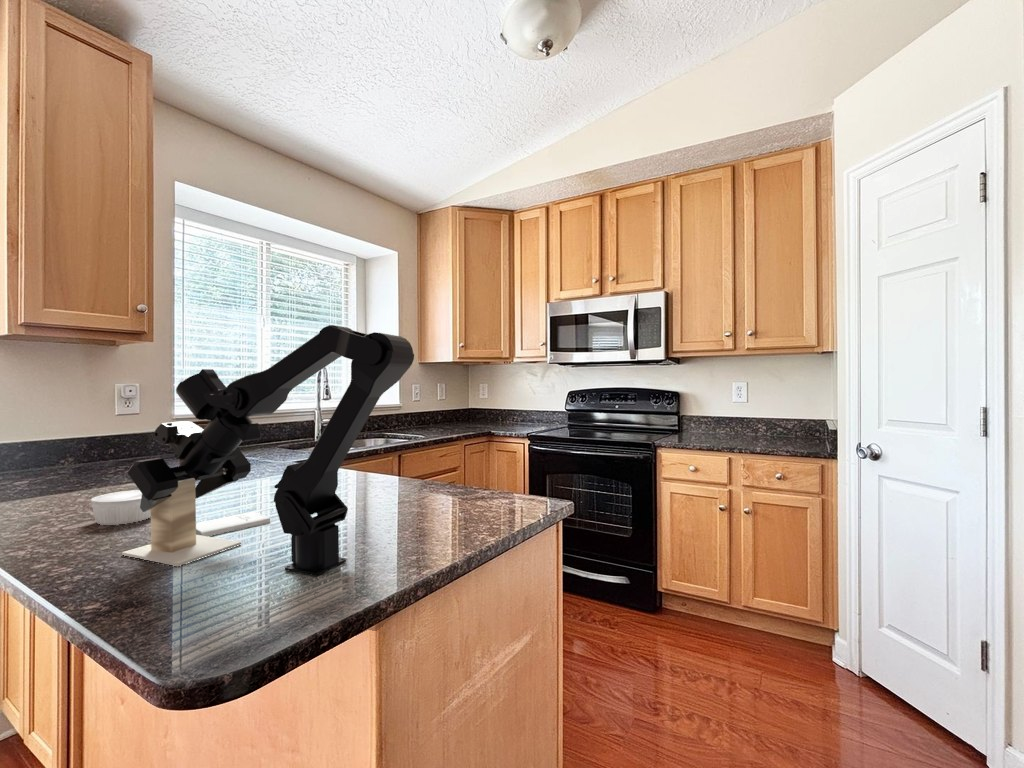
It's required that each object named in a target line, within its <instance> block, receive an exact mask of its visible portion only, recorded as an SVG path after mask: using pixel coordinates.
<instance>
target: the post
mask: <svg viewBox="0 0 1024 768" xmlns="http://www.w3.org/2000/svg"><path fill="white" fill-rule="evenodd" d="M195 488H196V480H195V479H190V480H186V481H181V482H178V488H177V489H176V490H175V492H173V493H171V495H172V496H171V497H170V498H168V499H166V500H165V501H163V502H161V503H160V504H158V505H156V506H155V507H153V508H152V509H151V517H150V544H151V550H154V551H162V552H171V553H172V552H175V551H178V550H180V549H183V548H186V547H189V546H192V545H195V544H196V523H197V517H196V516H197V515H196V513H197V512H196V511H197V510H196V509H197V508H196V505H197V504H196V503H197V502H196V500H197V499H196V496H195Z"/></svg>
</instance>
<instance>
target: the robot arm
mask: <svg viewBox="0 0 1024 768" xmlns="http://www.w3.org/2000/svg"><path fill="white" fill-rule="evenodd" d="M341 357H343V358H345V359H349V360H351V363H350V383H349V385H348V386H347V388H346V389H345V392H344V394H343V395H342V397H341V399H340V401H339V403H338V405H337V407H336V408H335V410H334V411H333V413H332V415H331V417H330V419H329V421H328V422H327V424H326V426H325V427H324V429H323V431H322V433H321V434H320V437H319V438H318V440H317V441H316V443H315V446H314V448H313V449H312V451H311V452H310V454H309V456H308V457H307V459H306V461H301V462H296V463H292V464H289V465H287V466H286V467H285V469H284V471H283V473H282V475H281V478H280V480H279V481H278V483H277V484H275V485H274V487H273V488H274V489H277V490H276V491H275V493H274V495H273V503H275V506H274V507H275V509H276V512H277V516H278V520H279V522H280V525H281V528H282V531H283V533H284V534H287V535H291V537H290V541H291V542H290V543H291V544H290V545H291V562H292V563H290V564H288V565H285V566H284V571H287V572H291V573H298V574H303V575H309V576H313V577H315V576H316V577H317V576H319V575H322V574H324V573H326V572H328V571H329V570H332V569H334V568H336V567H338V566H340V565H343V564H344V563H346V562H347V558H346V557H340V553H339V551H340V550H339V549H340V547H339V545H340V543H339V541H340V539H339V537H340V535H339V534H340V533H339V531H340V530H339V525H338V523H340V522H342V521H346V516H347V514H348V511H349V510H348V509H349V508H348V506H347V505H346V504H345V503H344V502H343V500H342V499H341V498H340V496H338V495H337V493H336V492H337V488H338V485H339V483H338V482H339V481H338V479H339V478H338V477H339V474H338V472H339V469H340V467H341V465H342V464H343V462H344V460H345V459H346V457H347V456H348V454H349V451H350V450H351V448H352V447H353V445H354V443H355V441H356V440H357V438H358V436H359V434H360V433H361V431H362V429H363V427H364V425H365V424H366V422H367V421H368V419H369V417H370V416H371V414H372V411H373V410H374V408H375V407H376V405H377V404H378V402H379V400H380V398H381V397H382V396H383V394H385V392H387V391H388V390H389V389H390V388H392V387H393V386H394V385H396V383H398V382H399V381H400V380H401V378H403V376H404V375H405V374H406V372H407V371H408V370H409V369H410V368H411V366H412V365H413V363H414V359H415V354H414V350H413V346H412V345H411V343H410V342H409V340H407V338H405V337H403V336H400V335H394V334H389V333H384V332H370V333H363V332H360V331H356V330H353V329H352V328H350V327H347V326H346V327H345V326H340V325H334V324H329V325H326V326H324V327H323V328H321V329H320V331H319V332H318V333H317V334H316V335H314V336H313V337H311V338H310V339H309V340H307V341H306V342H305V343H303V344H302V345H300V346H299V347H297V348H296V349H294V350H293V351H291V352H290V353H288V354H287V355H286V356H284V357H283V358H282V359H280V360H278V361H277V362H276V363H275V364H273V365H271V366H270V367H268V368H266V369H265V370H262V371H258V372H256V373H252V374H251V373H250V374H248V375H245V376H242V377H240V378H238V379H236V380H234V381H231V382H230V383H228V385H227V386H226V385H225V384H224V383H223V382H222V380H221V379H220V378H219V376H218V374H217V372H216V371H215V370H214V369H211V368H210V369H209V368H206V369H205V368H202V369H201V370H200V371H199V372H198V373H196V374H193V375H191V376H189V377H187V378H186V379H184V380H183V381H180V382H179V383H178V385H177V386H176V389H175V392H176V394H177V396H178V397H179V398H180V399H181V400H182V402H183V403H184V404H185V406H186V407H187V408H188V409H189V411H190V412H191V414H193V416H194V417H195V418H196V419H197V420H198V421H210V422H209V423H208V425H207V426H206V427H205V428H204V429H202V428H201V427H199V426H197V425H196V424H194V423H192V422H193V421H188V420H187V421H186V420H184V421H171V422H163V423H162V422H161V423H160V424H159V425H158V426H157V427H156V428H155V430H154V433H153V435H152V436H153V440H154V441H156V442H157V443H159V444H160V445H162V446H166V445H168V446H169V447H171V448H172V449H174V450H175V451H174V452H173V453H172V455H173V456H174V457H175V459H176V460H178V459H180V460H181V462H180V465H181V466H179V465H178V466H173V467H170V466H169V465H168V464H167V462H166V461H165V459H164V458H162V457H155V458H148V459H142V460H136V461H134V462H133V464H132V465H131V466H130V468H129V469H128V470H127V472H126V473H127V474H128V476H129V477H130V479H131V480H132V481H133V483H134V484H135V487H137V490H140V491H141V493H142V498H141V504H140V508H141V510H142V511H143V512H146V511H148V510H150V509H152V508H153V507H155V506H156V505H158V504H160V503H161V502H163V501H165V500H166V499H168V498H170V497H171V496H172V495H171V493H173V492H175V490H176V489H177V488H178V482H181V481H186V480H190V479H195V482H196V481H199V482H198V483H197V484H196V485H195V496H196V500H197V499H199V498H201V497H204V496H206V495H208V494H210V493H212V492H214V491H216V490H217V491H218V490H219V489H221V488H223V487H225V486H228V485H231V484H232V483H235V482H238V481H239V480H240V479H245V478H247V476H248V475H249V474H250V472H251V469H252V468H251V466H252V465H251V463H250V461H249V460H248V459H247V457H246V456H245V455H244V454H243V452H242V451H241V450H240V448H239V446H240V445H241V443H242V442H249V441H255V440H260V439H262V431H261V430H260V424H259V423H258V422H256V423H255V422H254V421H253V420H252V419H251V418H250V417H257V416H270V415H272V414H274V413H275V412H276V411H277V410H278V409H279V408H280V407H281V406H282V405H283V404H284V403H285V402H286V401H287V398H288V397H289V393H291V392H292V391H293V389H295V388H296V387H298V386H299V385H301V384H302V383H303V382H305V381H306V380H308V379H309V378H311V377H312V376H315V375H316V374H317V373H318V372H320V371H322V370H323V369H325V368H326V367H327V366H329V365H330V364H332V363H333V362H335V361H336V360H337V359H339V358H341ZM315 514H316V515H315ZM312 515H315V516H312ZM336 523H337V524H336Z"/></svg>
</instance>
